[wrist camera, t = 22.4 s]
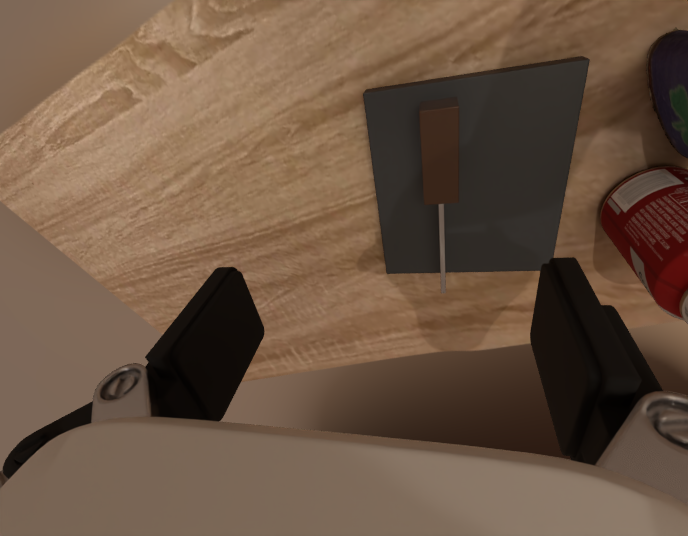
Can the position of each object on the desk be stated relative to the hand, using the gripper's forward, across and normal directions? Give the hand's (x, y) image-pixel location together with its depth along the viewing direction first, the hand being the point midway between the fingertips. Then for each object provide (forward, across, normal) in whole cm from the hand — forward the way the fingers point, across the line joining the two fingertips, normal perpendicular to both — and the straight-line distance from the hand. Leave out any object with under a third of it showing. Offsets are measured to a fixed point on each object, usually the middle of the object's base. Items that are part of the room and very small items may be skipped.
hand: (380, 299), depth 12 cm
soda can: (+22, -18, +9) cm, 30 cm away
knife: (+21, -2, +6) cm, 22 cm away
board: (+22, -4, +6) cm, 23 cm away
